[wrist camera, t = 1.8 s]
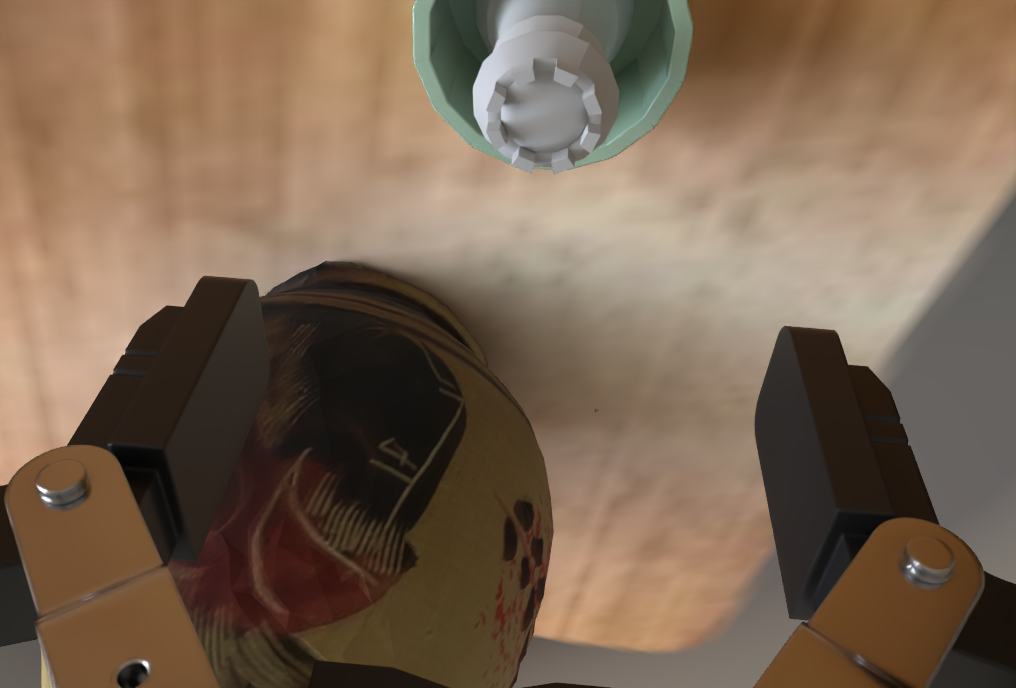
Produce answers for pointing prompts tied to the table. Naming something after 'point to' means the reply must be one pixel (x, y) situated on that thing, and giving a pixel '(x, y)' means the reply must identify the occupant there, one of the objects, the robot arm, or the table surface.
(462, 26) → the cup
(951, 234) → the table surface
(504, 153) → the rook chess piece
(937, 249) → the table surface
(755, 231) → the table surface
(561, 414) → the table surface
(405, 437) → the ceramic jug
